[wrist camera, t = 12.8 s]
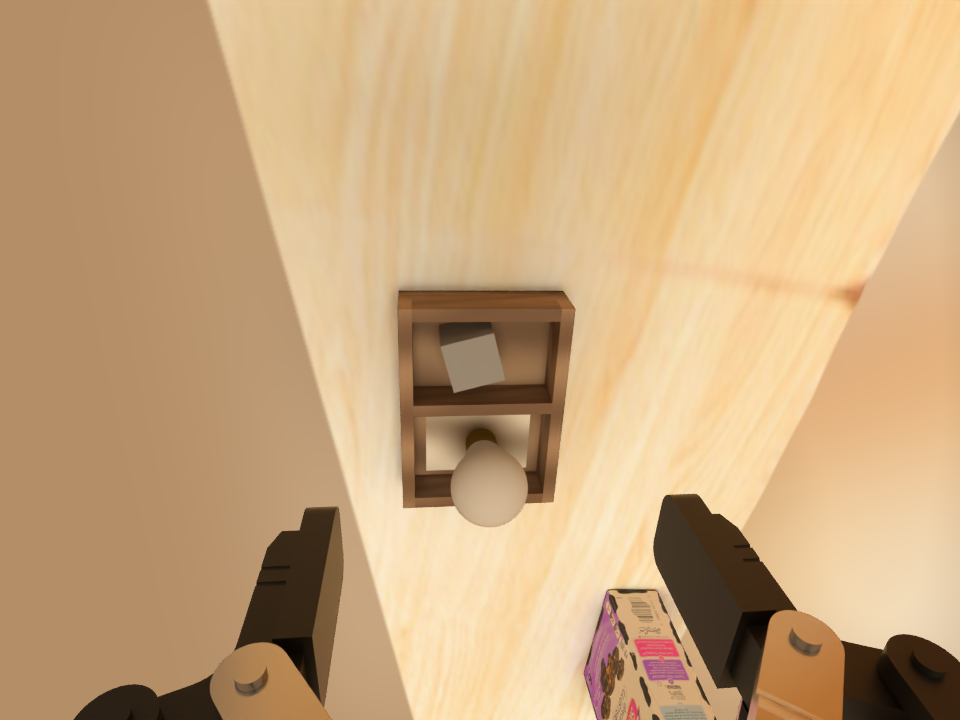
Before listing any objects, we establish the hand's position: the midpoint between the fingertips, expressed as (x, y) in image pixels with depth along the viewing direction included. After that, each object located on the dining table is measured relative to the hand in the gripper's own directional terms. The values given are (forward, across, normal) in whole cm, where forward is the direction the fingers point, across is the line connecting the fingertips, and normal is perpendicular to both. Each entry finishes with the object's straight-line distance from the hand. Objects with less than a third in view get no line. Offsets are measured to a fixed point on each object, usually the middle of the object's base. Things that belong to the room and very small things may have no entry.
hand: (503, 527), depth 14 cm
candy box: (+32, -20, +45) cm, 59 cm away
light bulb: (+31, -3, +18) cm, 36 cm away
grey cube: (+31, -2, +9) cm, 33 cm away
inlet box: (+32, -3, +14) cm, 35 cm away
